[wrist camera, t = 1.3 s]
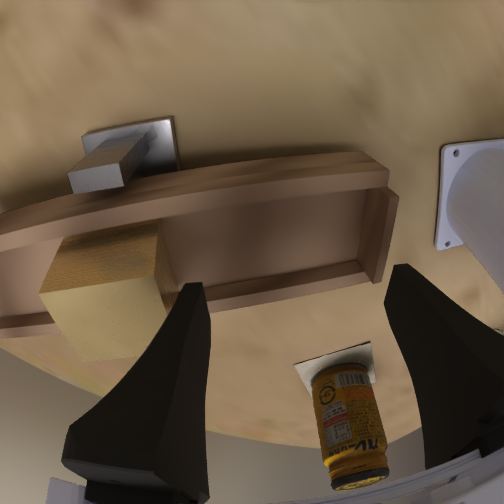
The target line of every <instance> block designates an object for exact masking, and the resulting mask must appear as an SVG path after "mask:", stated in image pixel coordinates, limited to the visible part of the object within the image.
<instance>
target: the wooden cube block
mask: <svg viewBox="0 0 504 504" xmlns="http://www.w3.org/2000/svg"><path fill="white" fill-rule="evenodd" d="M38 295H39V296H40V298H41V300H42V301H43V303H44V305H45V307H46V308H47V310H48V312H49V313H50V315H51V316H52V318H53V320H54V321H55V323H56V324H57V326H58V328H59V329H60V331H61V332H62V334H63V335H64V337H65V338H66V340H67V341H68V343H69V344H70V346H71V347H72V349H73V350H74V352H75V353H76V354H77V356H78V357H79V359H80V360H81V361H82V362H86V361H98V360H109V359H119V358H128V357H137V356H141V355H142V354H143V352H144V351H145V350H146V348H147V347H148V345H149V344H150V342H151V341H152V339H153V338H154V336H155V335H156V333H157V332H158V330H159V329H160V327H161V326H162V324H163V322H164V320H165V319H166V317H167V315H168V314H169V312H170V310H171V308H172V307H173V305H174V303H175V301H176V299H177V297H178V286H177V283H176V279H175V275H174V272H173V268H172V264H171V260H170V257H169V253H168V249H167V245H166V241H165V237H164V233H163V229H162V225H161V220H160V218H157V219H151V220H146V221H140V222H135V223H130V224H124V225H119V226H114V227H109V228H104V229H99V230H94V231H89V232H84V233H80V234H75V235H70V236H66V237H64V238H63V240H62V242H61V244H60V246H59V248H58V251H57V253H56V255H55V257H54V259H53V261H52V263H51V266H50V268H49V270H48V272H47V274H46V277H45V279H44V281H43V284H42V286H41V288H40V291H39V293H38Z"/></svg>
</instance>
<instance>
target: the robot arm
mask: <svg viewBox="0 0 504 504" xmlns="http://www.w3.org/2000/svg"><path fill="white" fill-rule="evenodd" d="M454 150H456V153H455V154H454V155H453V152H454ZM446 242H447V243H446ZM462 244H465V245H466V246H467V247H468V248H469V250H470V251H471V252H472V253H473V255H474V256H475V257H476V258H477V259H478V261H479V262H480V263H481V264H482V266H483V267H484V268H485V270H486V271H487V272H488V273H489V275H490V276H491V277H492V279H493V280H494V281H495V283H496V284H497V285H498V287H499V288H500V289H501V291H502V292H503V294H504V139H495V140H485V141H475V142H466V143H457V144H449V145H445V146H444V147H443V148H442V151H441V176H440V194H439V208H438V219H437V228H436V237H435V247H436V248H437V250H444V249H448V248H452V247H455V246H459V245H462ZM384 307H385V310H386V314H387V317H388V320H389V324H390V327H391V329H392V331H393V334H394V336H395V338H396V341H397V343H398V346H399V348H400V350H401V353H402V355H403V357H404V360H405V362H406V365H407V367H408V370H409V373H410V375H411V378H412V382H413V386H414V390H415V394H416V398H417V402H418V407H419V412H420V418H421V424H422V431H423V438H424V452H425V468H426V470H425V471H423V472H420V473H417V474H414V475H411V476H408V477H404V478H401V479H398V480H395V481H391V482H388V483H384V484H380V485H377V486H373V487H369V488H365V489H360V490H356V491H351V492H347V493H342V494H337V495H332V496H326V497H320V498H313V499H306V500H299V501H290V502H281V503H269V504H381V503H385V502H388V501H392V500H395V499H398V498H401V497H405V496H408V495H411V494H413V493H416V492H419V491H422V490H425V489H427V488H430V487H433V486H435V485H438V484H440V483H443V482H445V481H448V480H449V482H448V484H447V485H445V486H443V487H440V488H438V489H436V490H434V491H431V492H429V493H428V494H426V495H424V496H422V497H421V498H418V499H416V500H413V501H411V502H410V503H409V504H504V335H502V334H500V333H498V332H497V331H495V330H493V329H492V328H490V327H488V326H487V325H485V324H484V323H482V322H481V321H479V320H478V319H476V318H475V317H473V316H472V315H471V314H469V313H468V312H467V311H465V310H464V309H463V308H461V307H460V306H459V305H458V304H456V303H455V302H454V301H453V300H451V299H450V298H449V297H448V296H446V295H445V294H444V293H443V292H442V291H440V290H439V289H438V288H437V287H436V286H435V285H433V284H432V283H431V282H430V281H429V280H427V279H426V278H425V277H424V276H423V275H422V274H420V273H419V272H418V271H417V270H415V269H414V268H413V267H412V266H410V265H409V264H398V265H394V267H393V271H392V274H391V278H390V282H389V286H388V289H387V293H386V296H385V300H384ZM210 348H211V319H210V315H209V310H208V306H207V301H206V297H205V292H204V288H203V283H202V282H191V283H185V284H184V285H183V287H182V289H181V291H180V293H179V295H178V297H177V299H176V301H175V303H174V305H173V307H172V308H171V310H170V312H169V314H168V315H167V317H166V319H165V320H164V322H163V324H162V326H161V327H160V329H159V330H158V332H157V333H156V335H155V336H154V338H153V339H152V341H151V342H150V344H149V345H148V347H147V348H146V350H145V351H144V352H143V354H142V355H141V356H140V358H139V359H138V360H137V362H136V363H135V364H134V365H133V367H132V368H131V369H130V370H129V371H128V372H127V374H126V375H125V376H124V377H123V378H122V379H121V381H120V382H119V383H118V384H117V385H116V386H115V387H114V388H113V389H112V390H111V391H110V392H109V393H108V394H107V395H106V396H105V397H104V398H102V400H100V401H99V402H98V404H96V405H95V406H94V407H93V408H92V409H91V410H89V411H88V412H87V413H85V414H84V415H83V416H82V417H80V418H79V419H78V420H77V421H75V422H74V423H73V424H71V425H70V426H69V429H68V432H67V435H66V439H65V444H64V449H63V454H62V459H61V462H62V463H63V465H64V466H65V467H66V468H68V469H69V470H71V471H72V472H74V473H76V474H78V475H79V476H81V477H83V478H85V479H87V485H86V487H85V486H82V485H79V484H76V483H72V482H68V481H64V480H60V479H57V478H54V477H51V478H50V481H49V487H48V493H47V500H46V504H204V503H205V502H206V501H207V500H208V499H209V498H210V496H209V485H208V475H207V459H206V439H205V395H206V385H207V376H208V366H209V357H210Z"/></svg>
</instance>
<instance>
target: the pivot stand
mask: <svg viewBox="0 0 504 504" xmlns="http://www.w3.org/2000/svg"><path fill="white" fill-rule="evenodd" d="M82 141H83V145H84V149H85V154H86V157H84V158H83V159H82V160H81V161H80V162H79V163H78V164H77V165H76V166H75V167H73V168H72V169H71V170H70V171H69V172H68V177H69V180H70V183H71V186H72V190H73V193H74V194H80V193H85V192H91V191H97V190H103V189H109V188H116V187H122V186H125V184H126V183H127V181H130V180H135V179H140V178H145V177H150V176H155V175H161V174H166V173H172V172H178V171H181V168H180V162H179V156H178V149H177V143H176V136H175V130H174V123H173V116H170V117H163V118H157V119H151V120H145V121H139V122H134V123H129V124H124V125H119V126H114V127H109V128H105V129H100V130H96V131H92V132H87V133H86V134H84V135H83V136H82Z"/></svg>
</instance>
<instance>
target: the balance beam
mask: <svg viewBox="0 0 504 504" xmlns="http://www.w3.org/2000/svg"><path fill="white" fill-rule="evenodd" d="M388 177H389V170H388V169H387V168H385V167H384V166H383V165H381V164H380V163H378V162H377V161H376V160H374V159H373V158H371V157H370V156H368V155H367V154H365V153H364V152H362V151H352V152H336V153H322V154H310V155H299V156H288V157H278V158H269V159H260V160H252V161H244V162H237V163H229V164H222V165H215V166H208V167H202V168H196V169H189V170H183V171H178V172H172V173H166V174H161V175H155V176H150V177H145V178H140V179H135V180H130V181H127V183H126V184H125V186H122V187H116V188H109V189H103V190H97V191H91V192H85V193H80V194H74V193H73V194H69V195H65V196H61V197H57V198H53V199H50V200H46V201H42V202H39V203H35V204H32V205H28V206H25V207H21V208H18V209H15V210H11V211H8V212H5V213H2V214H0V339H2V338H15V337H28V336H39V335H50V334H60V333H62V332H61V331H60V329H59V328H58V326H57V324H56V323H55V321H54V320H53V318H52V316H51V315H50V313H49V312H48V310H47V308H46V307H45V305H44V303H43V301H42V300H41V298H40V296H39V295H38V293H39V291H40V288H41V286H42V284H43V281H44V279H45V277H46V274H47V272H48V270H49V268H50V266H51V263H52V261H53V259H54V257H55V255H56V253H57V251H58V248H59V246H60V244H61V242H62V240H63V238H64V237H66V236H70V235H75V234H80V233H84V232H89V231H94V230H99V229H104V228H109V227H114V226H119V225H124V224H130V223H135V222H140V221H146V220H151V219H157V218H160V220H161V225H162V229H163V233H164V237H165V241H166V245H167V249H168V253H169V257H170V260H171V264H172V268H173V272H174V275H175V279H176V283H177V286H178V295H179V293H180V291H181V289H182V287H183V285H184V284H185V283H191V282H202V283H203V288H204V292H205V297H206V301H207V306H208V310H209V313H214V312H220V311H226V310H231V309H237V308H243V307H248V306H254V305H259V304H264V303H270V302H275V301H280V300H285V299H290V298H295V297H300V296H305V295H310V294H315V293H320V292H324V291H329V290H334V289H338V288H343V287H347V286H352V285H356V284H361V283H365V282H369V281H371V282H372V283H373V284H375V283H379V282H381V281H382V277H383V273H384V269H385V264H386V260H387V256H388V251H389V247H390V242H391V237H392V232H393V228H394V222H395V217H396V212H397V206H398V201H399V196H398V195H397V194H395V193H394V192H393V191H392V190H391V189H389V188H388V187H387V185H388Z"/></svg>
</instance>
